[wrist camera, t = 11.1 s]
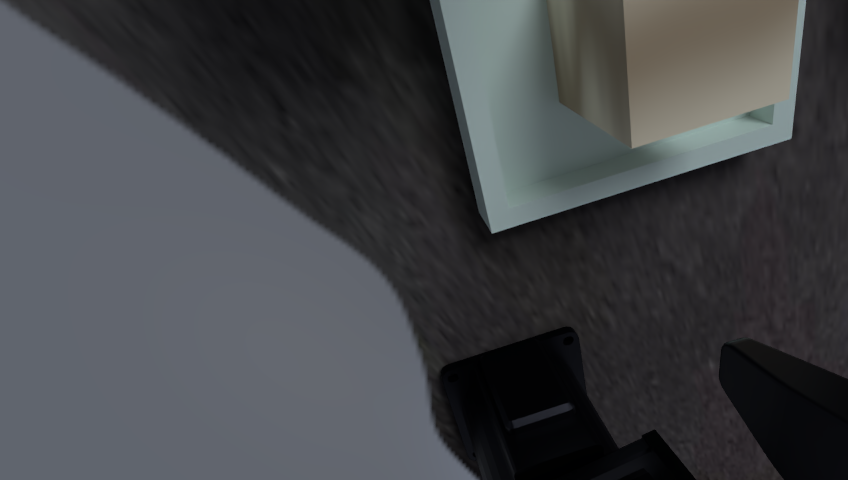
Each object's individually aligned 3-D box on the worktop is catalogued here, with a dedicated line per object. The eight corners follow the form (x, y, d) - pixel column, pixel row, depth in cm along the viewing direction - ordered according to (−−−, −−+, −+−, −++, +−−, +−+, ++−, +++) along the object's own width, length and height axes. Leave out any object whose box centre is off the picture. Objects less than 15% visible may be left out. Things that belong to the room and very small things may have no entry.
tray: (756, 124, 21) (791, 138, 20) (478, 212, 21) (491, 233, 19) (782, -254, 15) (835, -277, 14) (397, -138, 15) (406, -148, 13)
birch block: (680, 64, 19) (788, 98, 14) (559, 102, 19) (631, 148, 14) (679, -81, 16) (807, -91, 12) (541, -38, 16) (621, -33, 12)
